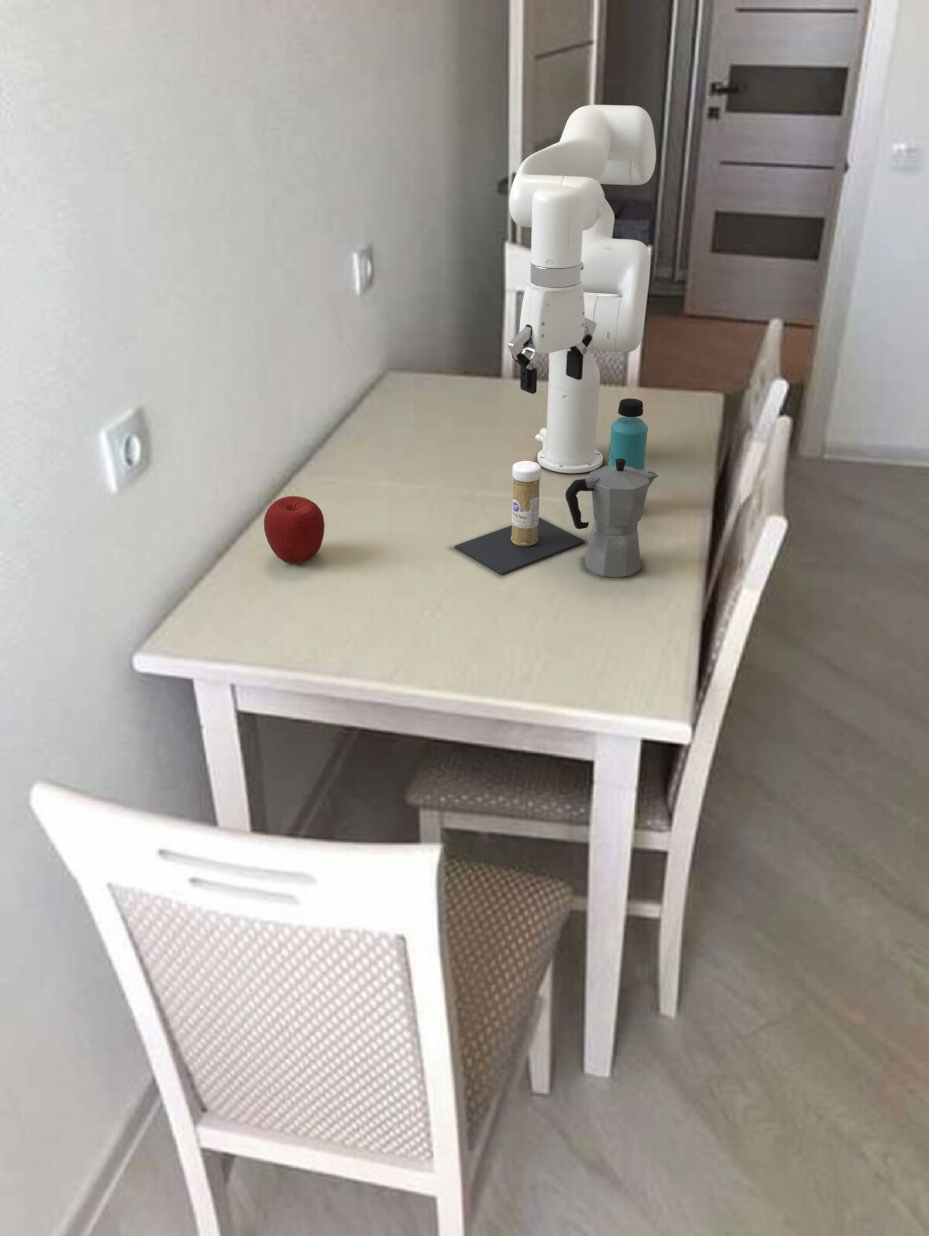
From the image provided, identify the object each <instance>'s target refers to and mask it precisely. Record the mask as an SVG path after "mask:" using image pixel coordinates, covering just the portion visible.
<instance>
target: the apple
mask: <svg viewBox="0 0 929 1236" xmlns="http://www.w3.org/2000/svg"><path fill="white" fill-rule="evenodd" d="M324 517H325V516H324V514H323V511H322V510H321V508H320V507H319V506H318V504H317V503H315V502H314V501H312V500H311V499H308V498H306V497H303V496H297V495H290V496H284V497H281V498H278V499H276V500H275V501H274V502H273V503H272V504H270V505H269V507H268V508H267V510H266V512H265V514H264V517H263V518H264V519H263V531H264V535H265V538H266V541H267V543H268V545H269V546H270V548H271V550H272V552H273V553H274V555H275V556H276V557H277V558H278V559H280V560H281V561H283V562H285V563H288V564H289V563H290V564H297V563H303V562H307V561H309V560H311V559H312V558H314V556H316V555H317V554H318V552H319V550H320V548H321V547H322V543H323V540H324V536H325V535H324V534H325V527H326V526H325V518H324Z"/></svg>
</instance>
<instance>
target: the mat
mask: <svg viewBox="0 0 929 1236" xmlns="http://www.w3.org/2000/svg"><path fill="white" fill-rule="evenodd" d="M511 536H512V524H511V525H509V526H506V527H504V528H503V527H502V528H500V529H498V530H495V531H492V532H489V533H487V534H483V535H481V536H478V537H475V538H473V539H469V540H467V541H464V542H461V543H459V544H455V545H454V549H455V550H457V551H459V552H460V553H463V554H464V555H465V556H467V557H469V558H471V559H473V560H475V561H476V562H478V563H480V564H481V565H482V566H485V567H486V568H488V569H490V570H491V571H493V572H495V573H497V574H498V575H500V576H504V575H506V574H508V573H511V572H514V571H516V570H518V569H521V568H524V567H526V566H529V565H533V564H534V563H537V562H539V561H541V560H544V559H547V558H550V557H552V556H555V555H558V554H560V553H562V552H563V553H564V552H565V551H568V550H570V549H573V548H575V547H578V546H580V545H583V544H585V543H586V540H584V539H583V538H580V537H578V536H576V535H574V534H573V533H570V532H568V531H567V530H564V529H562V528H560V527H558V526H556V525H555V524H553V523H551V522H548V521H546V520H544V519H543V518H542V517H539V519H538V534H537V537H538V542H537V543H535V544H534V545H531V546H525V547H524V546H518V545H515V544H513V542H512V541H511Z"/></svg>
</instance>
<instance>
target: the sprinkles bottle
mask: <svg viewBox="0 0 929 1236" xmlns="http://www.w3.org/2000/svg"><path fill="white" fill-rule="evenodd" d="M511 473H512V474H511V476H512V483H513V484H512V503H511V504H512V505H511V525H512V536H511V541H512V542H513V544H515V545H518V546H524V547H525V546H531V545H534V544H535V543H537V542H538V537H537V534H538V519H539V518H540V515H539V514H540V481H541V478H542V466H541V465H540V464H539V463H538V462H537V461H536V462H535V461H531V460H522V461H517V462H515V463H514V464H513V465H512V472H511Z"/></svg>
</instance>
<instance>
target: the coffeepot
mask: <svg viewBox="0 0 929 1236" xmlns="http://www.w3.org/2000/svg"><path fill="white" fill-rule="evenodd" d="M615 461H616V466H608V465H605V466H602V467H599V468H597V469H595V470H592V471H589V476H588V477H583V478H580V479H575V480H573V481H572V482H571V483H570V485H569V486H568V487H567V489H566V491H565V501H566V502H567V505H568V510H569V513H570V515H571V518H572V522H573V525H574V528H576V530H584V529H588V527H589V525H590V522H589V521H586V522H585V521H582V512H581V510H580V508H579V498H578V496H577V495H578V493H579V492H591V501H592V513H593V519H594V523H593V524H592V527H591V530H590V531H591V532H590V536H589V539H588V543H587V547H586V551H585V556H584V561H585V562H584V563H585V564H584V565H585V568H586V569H587V570H588V571H589V572H591V573H592V574H595V575H597V576H600V577H604V578H614V579H618V578H626V577H627V578H628V577H630V576H633V575H635V574H636V573H637V572H639V570H641V569H642V566H641V565H642V564H641V553H640V542H639V530H638V525H639V524H638V523H639V521H641V518H642V514H643V510H644V508H645V507H644V506H645V502H646V499H647V494H648V490H649V488H650V486H651V485H652V483H653V482H654V481H655V479H656V478H659V474H657V473H656V472H655V471H652V470H651V471H650V470H648V469H644V470H637V469H634V468H631V467H628V466H625V463H626V460H625V459H622V458H618V459H615Z"/></svg>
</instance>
